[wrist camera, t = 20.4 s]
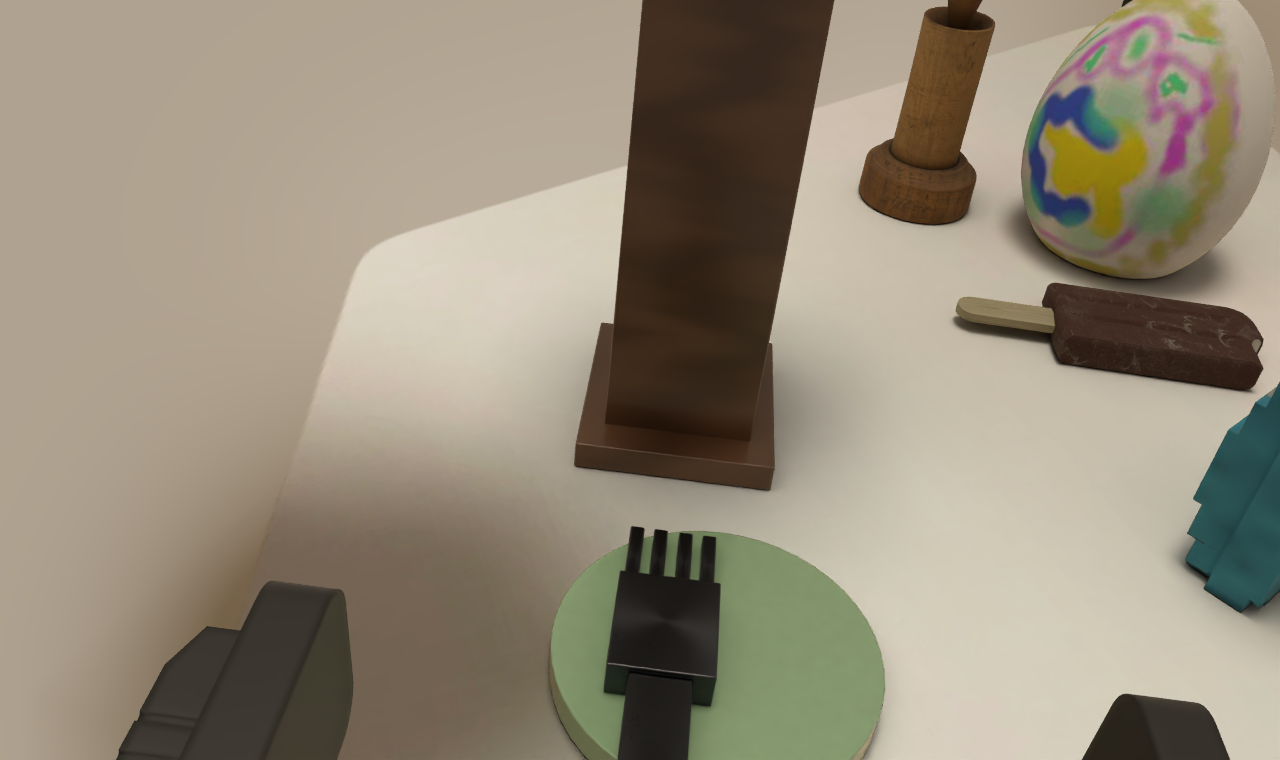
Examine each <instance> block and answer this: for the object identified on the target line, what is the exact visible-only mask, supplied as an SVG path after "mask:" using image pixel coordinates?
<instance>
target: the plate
mask: <svg viewBox="0 0 1280 760" xmlns="http://www.w3.org/2000/svg"><path fill="white" fill-rule="evenodd" d="M680 533H689V534H692V535H693V542H692V556H691V569H690V579H693V580H699V570H700V555H701V544H702V538H703V536H704V535H705V536H712V537H716V559H715V579H714V582H716V583H720V584H721V595H720V618H719V641H718V664H717V680H716V685H715V690H714V695H713V700H712V705H711V706H703V705H695V704H692V707H691V722H690V738H689V753H688V760H862V758H863V756H864V754H865V752H866V750H867V748H868V746H869V744H870V742H871V739H872V736H873V734H874V731H875V728H876V725H877V722H878V719H879V716H880V712H881V709H882V706H883V700H884V692H885V671H884V665H883V660H882V655H881V651H880V649H879V646H878V643H877V640H876V637H875V635H874V633H873V631H872V629H871V627H870V625H869V623H868V621H867V620H866V618H865V617H864V615H863V614H862V612H861V611H860V609H859V608H858V607H857V605H856V604H855V603H854V602H853V600H852V599H851V598H850V597H849V596H848V595H847V594H846V593H845V591H844V590H843V589H841V588H840V587H839V586H838V585H837V584H836V583H835V582H834V581H833V580H832V579H830V578H829V577H828V576H827V575H825V574H824V573H822V572H821V571H820V570H818V569H817V568H816V567H814V566H813V565H811V564H809V563H808V562H806V561H804V560H803V559H801V558H799V557H798V556H796V555H793V554H791V553H789V552H787V551H785V550H783V549H781V548H778V547H776V546H773V545H770V544H767V543H765V542H762V541H759V540H755V539H751V538H747V537H744V536H739V535H733V534H727V533H720V532H707V531H683V532H674V533H668V539H667V548H666V558H665V568H664V576H670V577H675V568H676V557H677V546H678V538H679V534H680ZM653 537H654V536H651V537H647V538H644V539H643V547H642V554H641V562H640V570H639V573H647V574H649V571H650V562H651V554H652V545H653ZM627 551H628V544H626V545H624V546H622V547H620V548H618V549H615V550H613V551H612V552H610V553H608V554H607V555H605V556H604V557H602V558H600V559H599V560H597V561H596V562H595V563H594V564H593V565H591V566H590V567H589V568H588V569H586V570H585V571H584V572H583V573H582V574H581V576H580V577H579V578H578V579H577V580H576V581H575V582H574V583H573V585H572V586H571V588H570V589H569V590H568V592H567V593H566V595H565V596H564V598H563V600H562V602H561V604H560V607H559V609H558V611H557V613H556V617H555V620H554V624H553V628H552V635H551V645H550V660H549V674H550V687H551V691H552V696H553V700H554V704H555V706H556V709H557V712H558V714H559V717H560V719H561V722H562V723H563V725H564V727H565V729H566V730H567V732H568V734H569V736H570V737H571V739H572V740H573V742H574V743H575V744H576V746H577V747H578V748H579V749H580V751H581V752H582V753H583V755H584V756H585V757H586V758H587V759H588V760H617V758H618V750H619V742H620V734H621V726H622V718H623V710H624V702H625V695H619V694H612V693H605V692H604V691H603V689H604V679H605V670H606V661H607V655H608V648H609V641H610V634H611V627H612V620H613V614H614V607H615V600H616V593H617V586H618V579H619V573H620V571H621V570H623V571H625V566H626V558H627Z"/></svg>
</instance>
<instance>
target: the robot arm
mask: <svg viewBox="0 0 1280 760" xmlns="http://www.w3.org/2000/svg"><path fill="white" fill-rule="evenodd" d="M352 697H353V673H352V663H351V652H350V642H349V631H348V621H347V610H346V601H345V596H344V593H343V591H342V590H340V589H332V588H325V587H317V586H309V585H301V584H294V583H286V582H278V581H269V582H268V583H266V584H265V585H264V586H263V588H262V589H261V591H260V592H259V594H258V596H257V598H256V600H255V602H254V604H253V606H252V608H251V610H250V612H249V614H248V616H247V619H246V621H245V623H244V625H243V627H242V629H241V631H239V630H232V629H224V628H216V627H208V626H207V627H206V628H205V629H204V630H202V631H201V632H200V633H199V634H198V635H197V636H196V637H195V638H194V639H193V640H191V641H190V642H189V643H188V644H187V645H186V646H185V647H184V648H183V649H181V650H180V651H179V652H178V653H177V654H176V655H175V656H174V657H173V658H172V659H170V660H169V661H168V662H167V663H166V664H165V665H164V667H163V669H162V671H161V673H160V674H159V676H158V678H157V680H156V682H155V684H154V685H153V687H152V689H151V691H150V693H149V695H148V697H147V699H146V700H145V702H144V704H143V706H142V708H141V710H140V715H139V718H138V720H137V721H134V723H133V724H132V726H131V728H130V730H129V732H128V734H127V736H126V737H125V739H124V741H123V743H122V745H121V747H120V748H119V754H118V757H117V759H116V760H337V758H338V755H339V752H340V749H341V747H342V744H343V741H344V737H345V734H346V730H347V726H348V722H349V717H350V712H351V706H352ZM1082 760H1230V758H1229V756H1228V753H1227V751H1226V748H1225V746H1224V743H1223V740H1222V738H1221V735H1220V733H1219V730H1218V728H1217V725H1216V723H1215V721H1214V719H1213V717H1212V715H1211V714H1210V712H1209V711H1208V710H1207V709H1206V708H1205V707H1204V706H1203V705H1201V704H1199V703H1194V702H1186V701H1179V700H1171V699H1163V698H1155V697H1148V696H1140V695H1132V694H1122V695H1121V696H1119V697H1118V698H1117V699H1116V700H1115V701H1114V703H1113V704H1112V706H1111V708H1110V710H1109V712H1108V713H1107V715H1106V717H1105V719H1104V721H1103V722H1102V724H1101V726H1100V728H1099V730H1098V731H1097V733H1096V735H1095V737H1094V739H1093V741H1092V742H1091V744H1090V746H1089V748H1088V750H1087V751H1086V753H1085V755H1084V757H1083V759H1082Z"/></svg>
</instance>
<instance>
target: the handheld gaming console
mask: <svg viewBox="0 0 1280 760" xmlns="http://www.w3.org/2000/svg"><path fill="white" fill-rule="evenodd" d="M1193 499H1194V500H1195V501H1197V502H1199V503H1200V504H1202V506H1201V508H1200V509H1199V511H1198V513H1197V515H1196V517H1195V519H1194V521H1193V523H1192V525H1191V527H1190V529H1189V531H1188V532H1187V534H1189V535H1190V536H1192V537H1194V538H1195V539H1196V540H1195V542H1194V544H1193V546H1192V548H1191V550H1190V551H1189V553H1188V555H1187V557H1186V559H1185V560H1186V561H1187V562H1186V563H1187V564H1189V565H1190V566H1192V567H1194V568H1195V569H1197V570H1198V571H1200V572H1201V573H1203V574H1204V575H1206V576H1207V577H1209V580H1208V581H1207V583H1206V585H1205V587H1204V589H1205V590H1207V591H1208V592H1210V593H1211V594H1213V595H1215V596H1216V597H1218V598H1219V599H1221V600H1222V601H1224V602H1225V603H1227V604H1228V605H1230V606H1231V607H1233V608H1234V609H1236V610H1237V611H1239V612H1242V611H1243V610H1244V609H1246V608H1247V607H1248V606H1249V605H1250V604H1251V603H1253V604H1254V605H1256V606H1257V607H1259V608H1260V607H1261V606H1262V605H1264V606H1265V605H1266V604H1267V603H1268V602H1269V601H1270V600H1271V599H1272V598H1273V597H1274V596H1275V595H1276V594H1277V593H1278V592H1279V591H1280V382H1279V384H1278V386H1277V387H1276V388H1275V389H1273V390H1272V391H1270V392H1269V393H1268V394H1266V395H1265V396H1264V397H1262V398H1261V399H1259V400H1258V401H1257V402H1255V404H1254V406H1253V408H1252V410H1251V412H1250V414H1249V415H1248V416H1247V417H1245V418H1244V419H1242V420H1241V421H1240V422H1238V423H1237V424H1236V425H1234V426H1233V427H1232V428H1230V429H1229V430H1228V432H1227V434H1226V435H1225V437H1224V439H1223V441H1222V443H1221V445H1220V447H1219V449H1218V451H1217V453H1216V455H1215V457H1214V459H1213V461H1212V463H1211V465H1210V467H1209V469H1208V470H1207V472H1206V474H1205V476H1204V478H1203V480H1202V482H1201V484H1200V486H1199V488H1198V490H1197V492H1196V494H1195V496H1194V498H1193Z"/></svg>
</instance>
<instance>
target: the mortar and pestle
mask: <svg viewBox="0 0 1280 760" xmlns="http://www.w3.org/2000/svg"><path fill="white" fill-rule="evenodd" d="M981 1H982V0H948V7H935V8H931V9H929V10H927V11H926V12H925V14H924V18H923V22H922V26H921V31H920V35H919V39H918V43H917V48H916V52H915V57H914V61H913V65H912V69H911V73H910V78H909V81H908V85H907V89H906V93H905V97H904V101H903V105H902V109H901V113H900V117H899V121H898V125H897V128H896V132H895V136H894V138H893V139H890V140H887V141H885V142H884V143H882V144H880V145H878V146H876V147H874V148H872V149H871V150H870V151H869V153H868V154H867V157H866V160H865V164H864V168H863V172H862V176H861V180H860V184H859V192H860V195H861V197H862V198H863V199H864V201H865V202H866V203H867V204H868V205H870V206H871V207H873V208H874V209H876V210H878V211H880V212H882V213H884V214H887V215H889V216H892V217H895V218H898V219H902V220H905V221H910V222H916V223H924V224H941V223H948V222H952V221H956V220H958V219H959V218H961V217H963V216H964V215H965V213H966V212H967V210H968V207H969V204H970V201H971V197H972V193H973V190H974V186H975V183H976V172H975V170H974V168H973V167H972V165H971V164H970V163H969V162H968V161H967V159H966V157H965V156H964V155H963V154H962V153H961V152H960V149H961V145H962V141H963V138H964V134H965V131H966V127H967V123H968V120H969V116H970V112H971V109H972V105H973V102H974V98H975V94H976V91H977V87H978V84H979V80H980V77H981V73H982V70H983V66H984V63H985V59H986V56H987V52H988V49H989V45H990V42H991V38H992V35H993V32H994V28H995V22H994V21H993V19H991V18H990V17H989V16H987V15H985V14H982V13H979V12H977V9H978V7H979V5H980V3H981Z"/></svg>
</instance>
